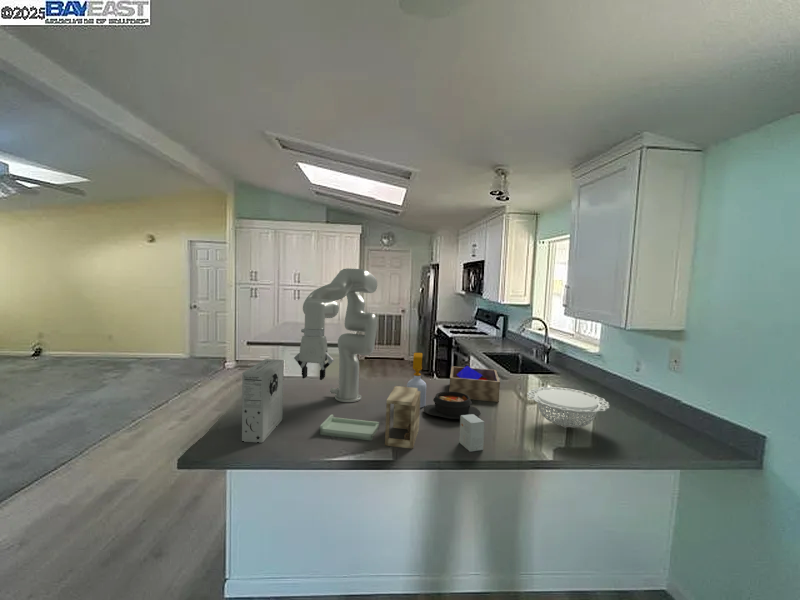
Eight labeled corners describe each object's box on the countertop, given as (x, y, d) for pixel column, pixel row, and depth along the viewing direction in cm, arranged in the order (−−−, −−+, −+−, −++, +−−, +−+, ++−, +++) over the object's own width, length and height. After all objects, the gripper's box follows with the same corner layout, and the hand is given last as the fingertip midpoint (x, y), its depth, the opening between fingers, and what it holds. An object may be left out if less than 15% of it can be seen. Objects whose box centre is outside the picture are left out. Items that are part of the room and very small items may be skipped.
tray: (319, 434, 147) (320, 425, 147) (330, 422, 159) (331, 414, 159) (371, 440, 144) (372, 431, 144) (378, 427, 156) (379, 419, 156)
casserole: (475, 408, 183) (476, 390, 182) (484, 424, 165) (485, 404, 164) (421, 406, 182) (422, 389, 182) (425, 422, 164) (426, 402, 163)
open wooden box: (449, 397, 197) (450, 377, 196) (450, 383, 221) (451, 366, 220) (498, 401, 193) (499, 382, 193) (495, 387, 217) (496, 369, 217)
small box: (483, 450, 140) (485, 421, 139) (469, 452, 138) (471, 423, 137) (472, 440, 147) (473, 413, 147) (458, 442, 145) (460, 414, 145)
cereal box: (264, 418, 160) (265, 358, 158) (282, 419, 160) (283, 359, 158) (241, 442, 139) (242, 372, 137) (262, 443, 139) (263, 373, 137)
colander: (574, 412, 183) (576, 385, 182) (626, 441, 152) (629, 409, 151) (511, 415, 176) (512, 387, 175) (552, 446, 145) (555, 413, 144)
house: (475, 385, 218) (477, 365, 217) (492, 397, 199) (493, 375, 198) (455, 386, 216) (456, 365, 215) (470, 398, 196) (471, 375, 195)
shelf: (384, 445, 141) (386, 399, 139) (393, 426, 158) (395, 385, 156) (413, 448, 139) (415, 402, 138) (418, 429, 156) (420, 388, 155)
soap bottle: (425, 402, 188) (428, 352, 186) (425, 409, 179) (427, 356, 177) (407, 401, 189) (409, 350, 187) (405, 407, 180) (407, 354, 178)
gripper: (289, 332, 149) (288, 379, 150) (332, 335, 146) (331, 382, 148) (297, 329, 156) (296, 374, 158) (339, 332, 154) (337, 377, 155)
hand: (313, 377), depth 153 cm, fingers open, 6 cm apart
